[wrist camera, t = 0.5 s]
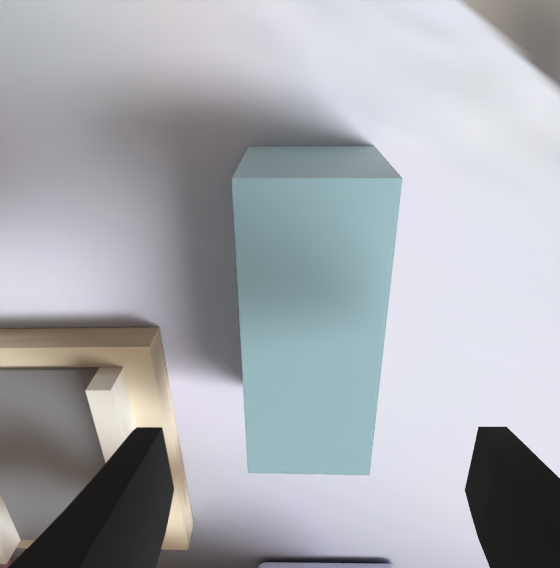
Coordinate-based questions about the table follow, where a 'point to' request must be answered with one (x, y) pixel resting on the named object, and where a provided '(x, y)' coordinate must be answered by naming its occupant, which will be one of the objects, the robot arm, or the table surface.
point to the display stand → (78, 421)
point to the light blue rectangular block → (313, 302)
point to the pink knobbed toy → (4, 566)
